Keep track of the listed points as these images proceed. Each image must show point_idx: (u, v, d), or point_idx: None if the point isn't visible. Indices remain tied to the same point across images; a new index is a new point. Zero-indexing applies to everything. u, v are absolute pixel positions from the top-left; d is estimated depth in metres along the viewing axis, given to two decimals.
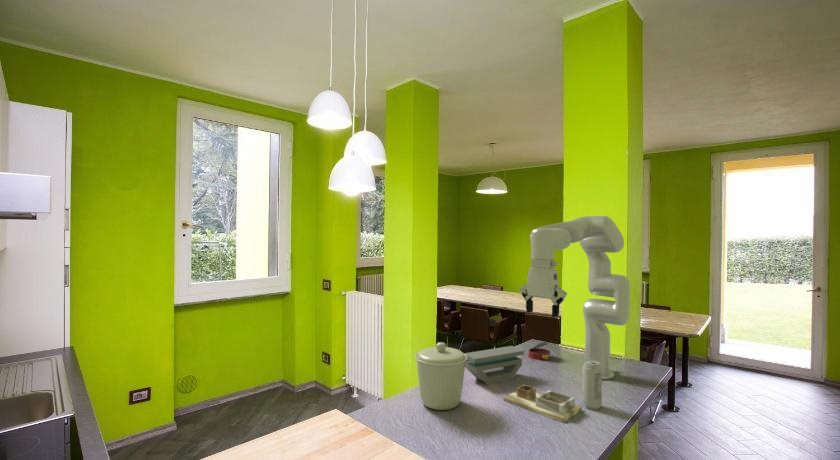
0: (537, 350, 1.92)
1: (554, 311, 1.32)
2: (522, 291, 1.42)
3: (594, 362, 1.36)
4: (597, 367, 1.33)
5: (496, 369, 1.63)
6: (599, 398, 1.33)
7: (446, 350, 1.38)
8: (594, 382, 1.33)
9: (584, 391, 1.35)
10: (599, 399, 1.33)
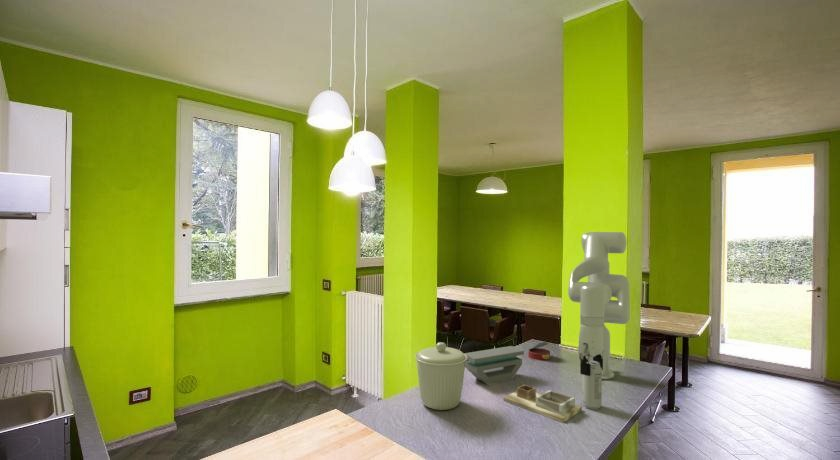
0: (537, 350, 1.92)
1: None
2: (583, 355, 1.30)
3: (594, 362, 1.36)
4: (597, 367, 1.33)
5: (496, 369, 1.63)
6: (599, 398, 1.33)
7: (446, 350, 1.38)
8: (594, 382, 1.33)
9: (584, 391, 1.35)
10: (599, 399, 1.33)
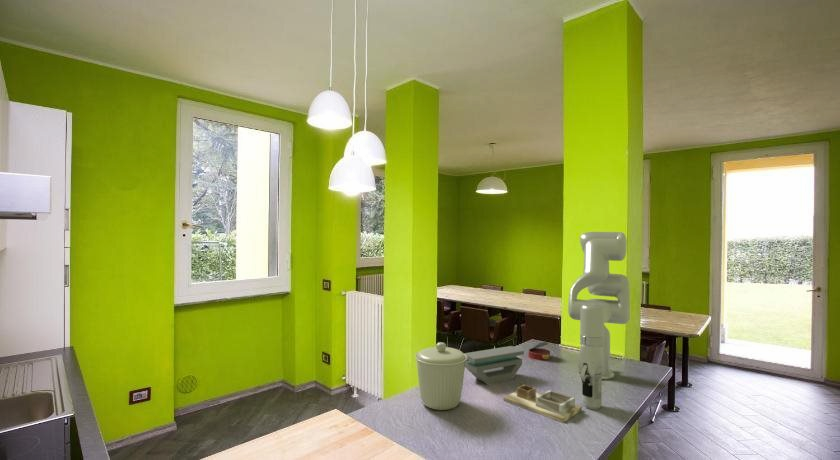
0: (537, 350, 1.92)
1: None
2: (585, 378, 1.31)
3: None
4: None
5: (496, 369, 1.63)
6: (599, 398, 1.33)
7: (446, 350, 1.38)
8: (594, 382, 1.33)
9: None
10: (599, 399, 1.33)
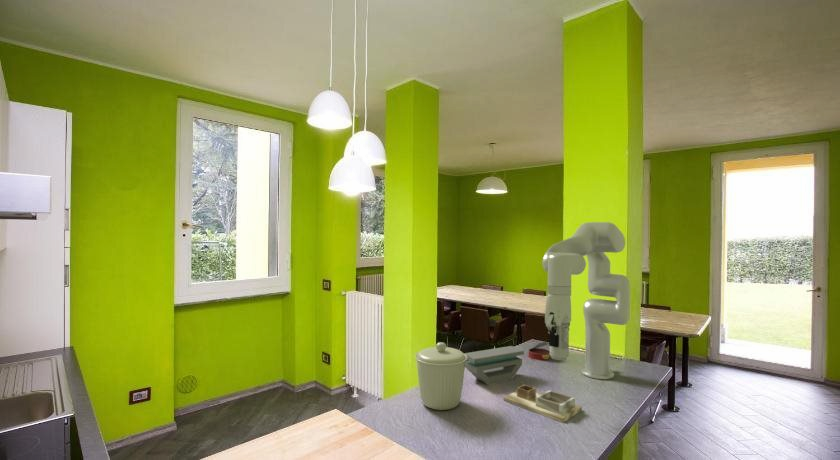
0: (537, 350, 1.92)
1: None
2: (551, 327, 1.28)
3: None
4: (564, 317, 1.31)
5: (496, 369, 1.63)
6: (565, 348, 1.30)
7: (446, 350, 1.38)
8: (561, 332, 1.30)
9: None
10: (566, 349, 1.30)
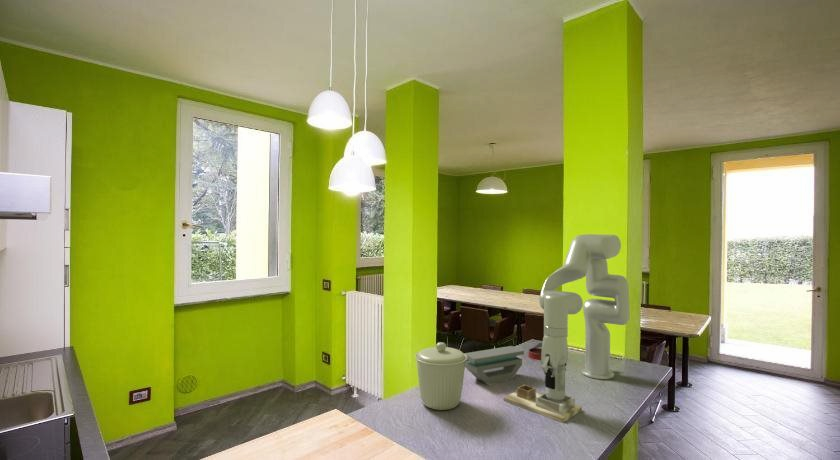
0: (537, 350, 1.92)
1: None
2: (547, 369, 1.28)
3: None
4: (561, 358, 1.30)
5: (496, 369, 1.63)
6: (562, 390, 1.30)
7: (446, 350, 1.38)
8: (557, 374, 1.30)
9: None
10: (562, 391, 1.30)
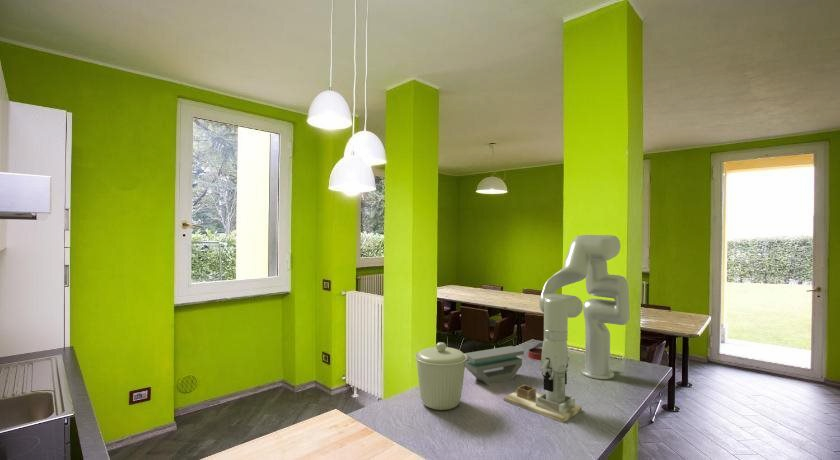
0: (537, 350, 1.92)
1: None
2: (545, 371, 1.27)
3: None
4: (560, 366, 1.30)
5: (496, 369, 1.63)
6: (562, 397, 1.30)
7: (446, 350, 1.38)
8: (556, 381, 1.30)
9: None
10: (562, 398, 1.30)
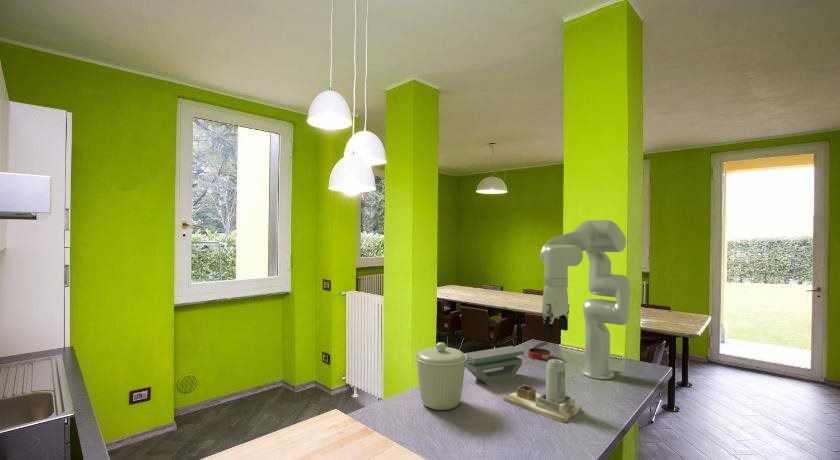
0: (537, 350, 1.92)
1: None
2: (546, 315, 1.30)
3: (558, 361, 1.33)
4: (560, 366, 1.30)
5: (496, 369, 1.63)
6: (562, 397, 1.30)
7: (446, 350, 1.38)
8: (557, 381, 1.30)
9: (547, 390, 1.32)
10: (562, 398, 1.30)
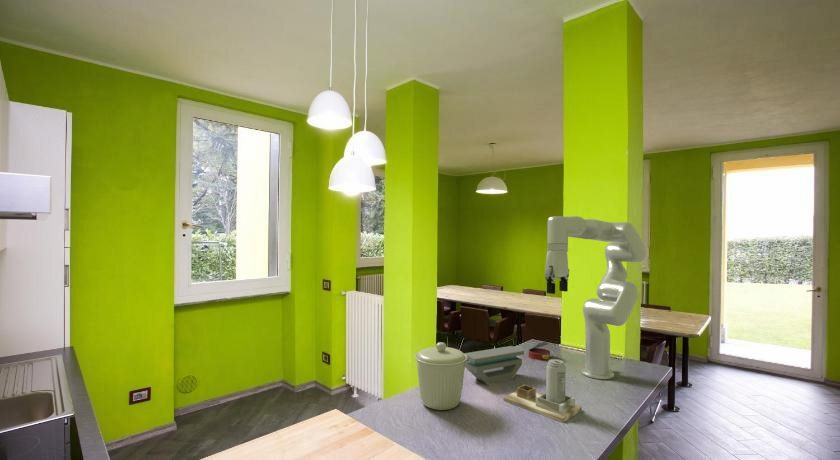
0: (537, 350, 1.92)
1: None
2: (548, 275, 1.48)
3: (558, 361, 1.33)
4: (561, 366, 1.30)
5: (496, 369, 1.63)
6: (562, 398, 1.30)
7: (446, 350, 1.38)
8: (557, 381, 1.30)
9: (547, 390, 1.32)
10: (562, 399, 1.30)
